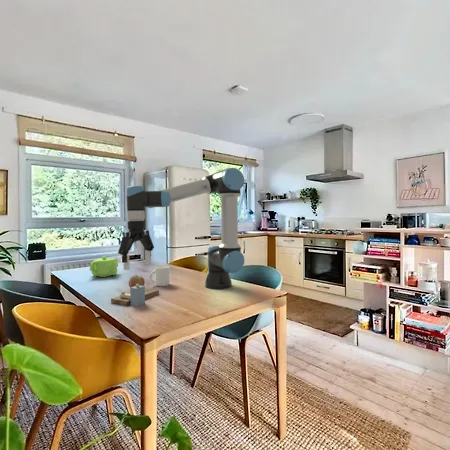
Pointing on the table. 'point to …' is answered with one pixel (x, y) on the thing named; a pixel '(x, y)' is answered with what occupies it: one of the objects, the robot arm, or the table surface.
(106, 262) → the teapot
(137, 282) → the fruit
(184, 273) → the table surface
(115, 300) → the board
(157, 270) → the mug
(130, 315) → the table surface
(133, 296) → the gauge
